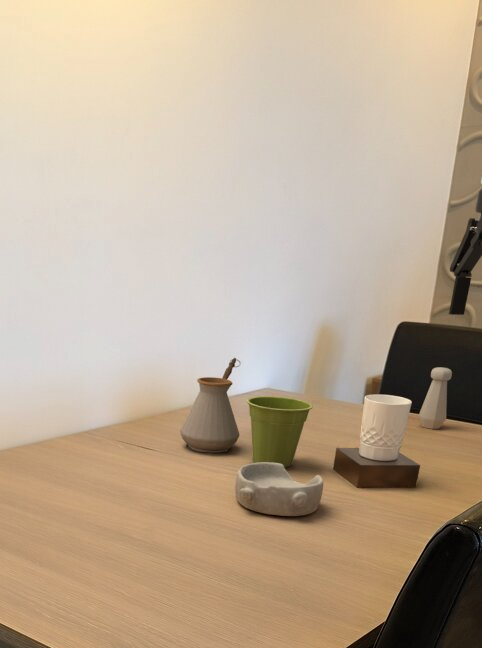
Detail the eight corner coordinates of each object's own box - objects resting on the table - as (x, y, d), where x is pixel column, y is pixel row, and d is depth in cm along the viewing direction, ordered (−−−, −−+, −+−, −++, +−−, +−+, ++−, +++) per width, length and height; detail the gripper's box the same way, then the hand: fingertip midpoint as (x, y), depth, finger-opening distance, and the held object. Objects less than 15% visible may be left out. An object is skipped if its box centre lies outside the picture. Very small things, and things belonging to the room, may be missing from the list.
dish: (250, 485, 140) (254, 456, 138) (330, 501, 134) (335, 471, 132) (217, 508, 128) (220, 477, 126) (303, 527, 122) (307, 495, 120)
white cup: (394, 465, 141) (405, 406, 137) (349, 456, 145) (359, 399, 140) (405, 455, 147) (416, 399, 143) (362, 447, 151) (371, 392, 146)
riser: (388, 468, 154) (392, 447, 152) (416, 487, 144) (420, 465, 142) (332, 469, 152) (336, 447, 150) (356, 487, 142) (360, 465, 140)
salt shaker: (412, 425, 187) (423, 366, 181) (425, 422, 191) (437, 364, 185) (435, 431, 183) (447, 371, 178) (448, 428, 187) (461, 369, 181)
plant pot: (318, 468, 151) (327, 407, 146) (267, 476, 145) (275, 412, 140) (276, 452, 160) (283, 393, 155) (227, 458, 154) (233, 397, 149)
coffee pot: (229, 458, 154) (237, 377, 147) (171, 450, 157) (176, 369, 151) (255, 434, 172) (263, 360, 166) (202, 426, 175) (208, 354, 169)
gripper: (445, 187, 150) (423, 310, 160) (526, 186, 128) (495, 328, 138) (482, 189, 152) (458, 311, 161) (569, 188, 130) (536, 329, 139)
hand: (475, 319), depth 149 cm, fingers open, 13 cm apart
